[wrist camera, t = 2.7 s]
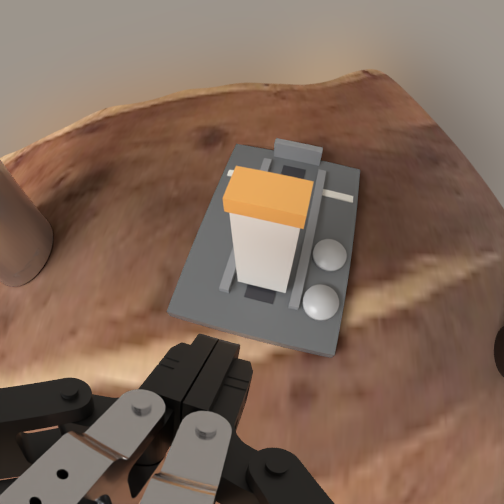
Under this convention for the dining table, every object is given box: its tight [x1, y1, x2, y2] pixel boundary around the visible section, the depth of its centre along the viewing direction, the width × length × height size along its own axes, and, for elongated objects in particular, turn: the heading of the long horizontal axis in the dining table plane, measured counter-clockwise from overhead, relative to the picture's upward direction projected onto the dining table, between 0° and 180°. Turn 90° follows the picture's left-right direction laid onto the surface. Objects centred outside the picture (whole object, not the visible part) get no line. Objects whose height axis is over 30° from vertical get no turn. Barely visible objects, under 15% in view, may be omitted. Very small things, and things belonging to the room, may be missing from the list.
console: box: [167, 138, 360, 358], centre depth 29 cm, size 20×14×3 cm
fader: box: [222, 166, 314, 293], centre depth 22 cm, size 2×4×11 cm, turn 75°
